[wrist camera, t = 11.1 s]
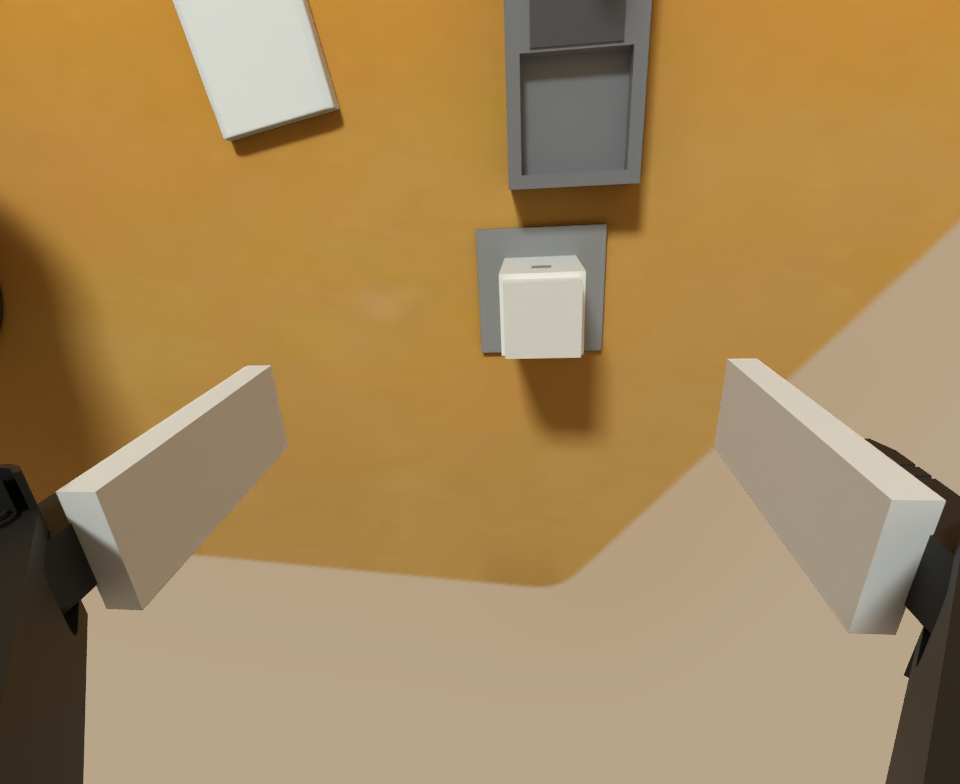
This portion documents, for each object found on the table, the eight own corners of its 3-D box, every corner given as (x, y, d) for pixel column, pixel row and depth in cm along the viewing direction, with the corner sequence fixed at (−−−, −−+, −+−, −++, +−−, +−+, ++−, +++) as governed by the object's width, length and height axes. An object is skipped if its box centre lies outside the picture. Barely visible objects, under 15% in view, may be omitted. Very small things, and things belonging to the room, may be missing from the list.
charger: (506, 326, 37) (500, 363, 29) (504, 257, 35) (496, 277, 28) (574, 324, 37) (586, 362, 29) (575, 254, 35) (588, 274, 27)
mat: (482, 351, 39) (481, 352, 38) (476, 229, 35) (475, 230, 35) (600, 348, 38) (601, 350, 37) (606, 223, 34) (607, 224, 34)
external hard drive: (235, 142, 35) (155, -77, 31) (342, 110, 34) (274, -124, 29) (222, 140, 34) (135, -91, 29) (333, 106, 32) (260, -141, 28)
